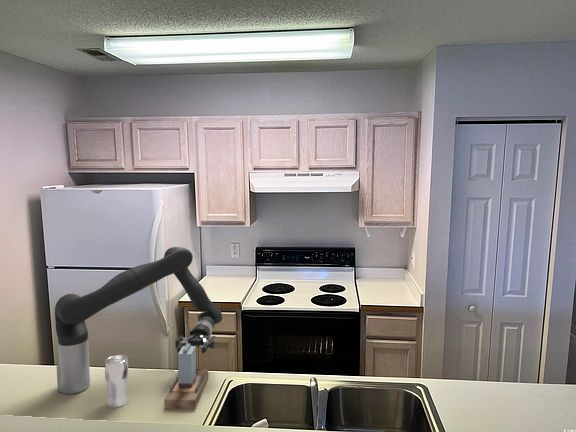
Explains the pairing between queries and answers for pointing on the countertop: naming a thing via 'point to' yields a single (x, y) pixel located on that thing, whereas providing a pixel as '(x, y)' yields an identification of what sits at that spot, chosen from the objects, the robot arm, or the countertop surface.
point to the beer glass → (116, 380)
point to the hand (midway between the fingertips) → (191, 350)
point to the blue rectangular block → (187, 366)
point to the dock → (186, 392)
